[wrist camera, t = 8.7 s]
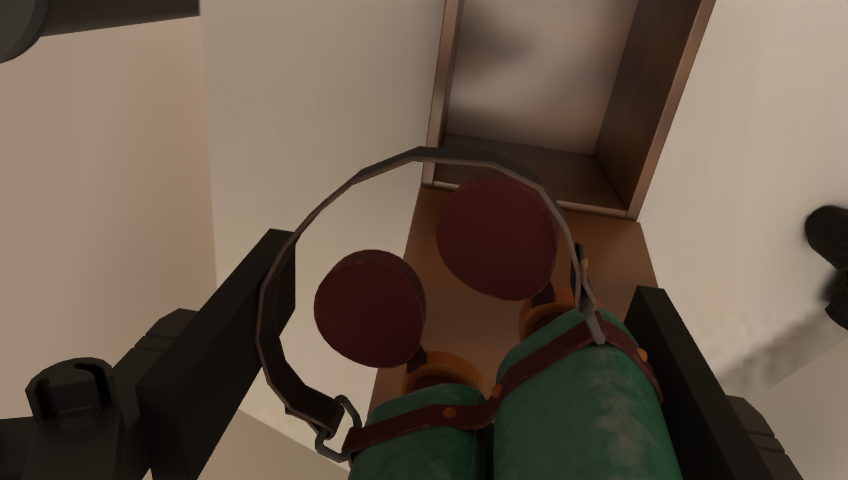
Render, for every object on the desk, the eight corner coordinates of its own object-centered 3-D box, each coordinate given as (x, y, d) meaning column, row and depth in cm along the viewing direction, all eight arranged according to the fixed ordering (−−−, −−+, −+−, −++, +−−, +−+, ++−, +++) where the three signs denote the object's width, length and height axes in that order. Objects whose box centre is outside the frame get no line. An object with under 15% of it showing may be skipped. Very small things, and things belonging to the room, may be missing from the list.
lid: (366, 416, 22) (366, 426, 22) (712, 476, 21) (703, 484, 22) (419, 187, 34) (418, 196, 34) (640, 222, 33) (635, 231, 34)
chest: (463, -64, 39) (456, -81, 27) (657, -36, 38) (731, -42, 27) (435, 137, 46) (419, 189, 34) (597, 162, 45) (636, 223, 34)
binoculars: (440, 167, 4) (892, 819, 6) (488, 71, 14) (662, 345, 16) (-82, 512, 7) (352, 873, 9) (258, 235, 17) (431, 446, 19)
